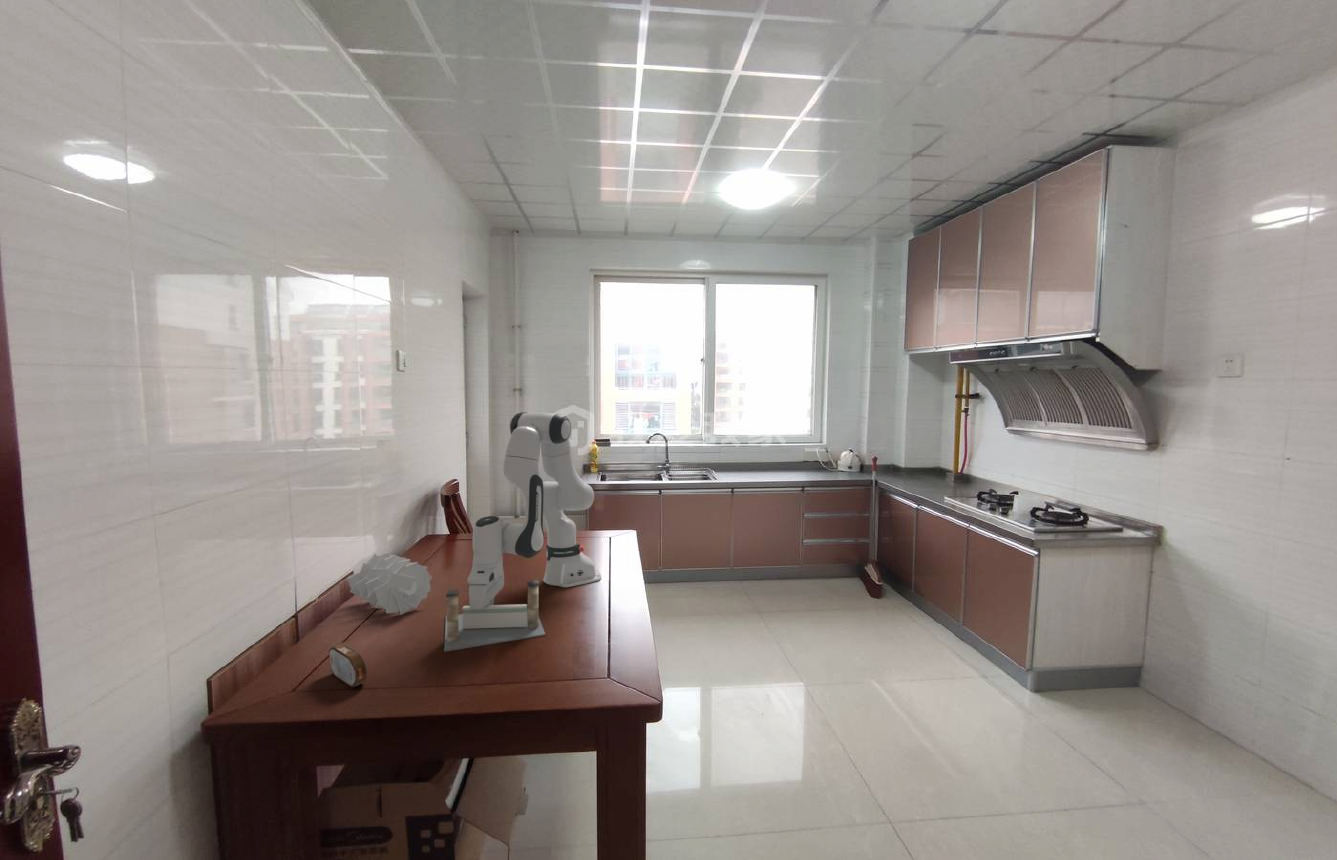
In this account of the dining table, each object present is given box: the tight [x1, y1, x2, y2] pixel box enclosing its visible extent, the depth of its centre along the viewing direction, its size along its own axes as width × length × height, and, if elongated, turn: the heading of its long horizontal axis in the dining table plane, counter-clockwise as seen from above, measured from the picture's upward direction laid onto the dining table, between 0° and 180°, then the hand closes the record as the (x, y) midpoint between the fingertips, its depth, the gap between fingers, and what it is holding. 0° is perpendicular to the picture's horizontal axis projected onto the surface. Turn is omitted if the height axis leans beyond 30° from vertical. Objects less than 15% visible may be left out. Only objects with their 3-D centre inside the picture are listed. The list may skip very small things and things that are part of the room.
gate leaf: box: [461, 603, 528, 629], centre depth 157 cm, size 19×2×6 cm, turn 95°
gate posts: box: [445, 579, 540, 643], centre depth 154 cm, size 26×4×15 cm, turn 113°
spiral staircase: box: [346, 551, 433, 616], centre depth 173 cm, size 18×18×25 cm
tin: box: [328, 641, 368, 688], centre depth 128 cm, size 15×3×8 cm, turn 56°
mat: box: [443, 604, 546, 653], centre depth 160 cm, size 28×24×1 cm
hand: (488, 612), depth 160 cm, fingers closed
